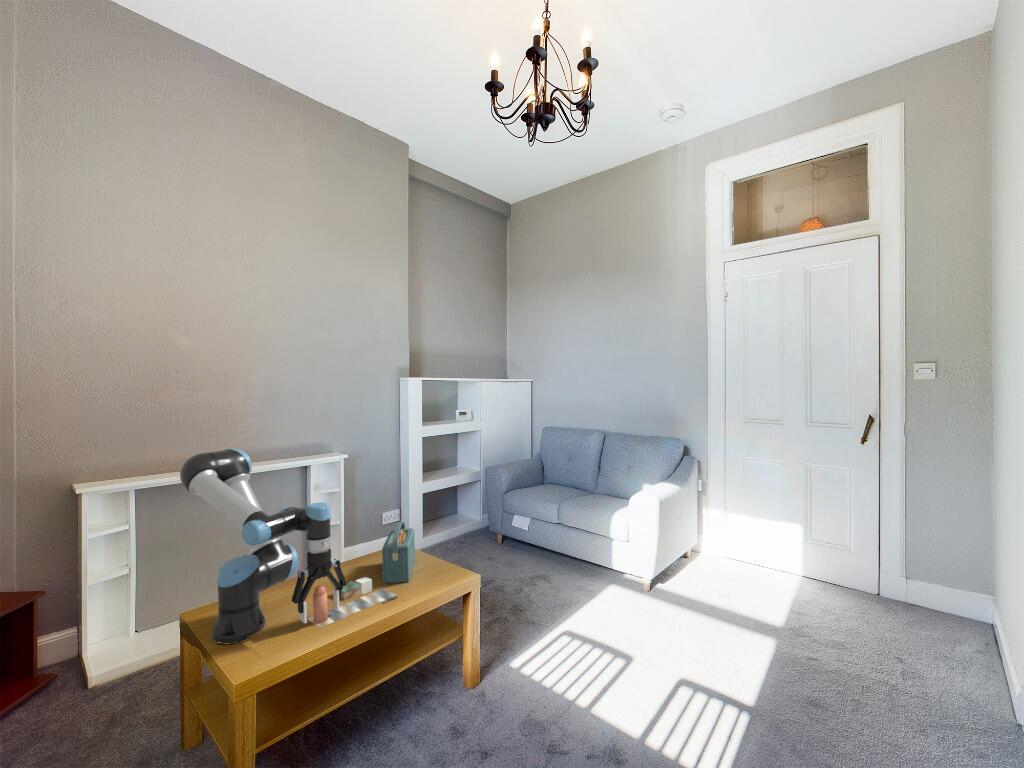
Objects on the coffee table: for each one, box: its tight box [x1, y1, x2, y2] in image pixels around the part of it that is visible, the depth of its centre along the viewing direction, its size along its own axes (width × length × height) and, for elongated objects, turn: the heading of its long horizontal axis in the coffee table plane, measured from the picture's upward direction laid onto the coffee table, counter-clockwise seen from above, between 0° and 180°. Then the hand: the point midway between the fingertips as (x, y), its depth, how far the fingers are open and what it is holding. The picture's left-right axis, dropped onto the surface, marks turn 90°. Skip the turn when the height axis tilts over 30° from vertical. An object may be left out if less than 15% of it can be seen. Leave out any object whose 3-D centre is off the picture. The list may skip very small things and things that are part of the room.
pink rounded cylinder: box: [312, 585, 328, 624], centre depth 158 cm, size 4×4×12 cm
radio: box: [381, 521, 416, 585], centre depth 201 cm, size 26×11×20 cm, turn 6°
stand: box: [334, 581, 362, 601], centre depth 177 cm, size 7×7×4 cm
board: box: [307, 588, 398, 628], centre depth 167 cm, size 30×9×1 cm, turn 139°
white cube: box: [354, 576, 373, 595], centre depth 182 cm, size 4×4×4 cm
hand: (320, 614), depth 158 cm, fingers open, 11 cm apart
